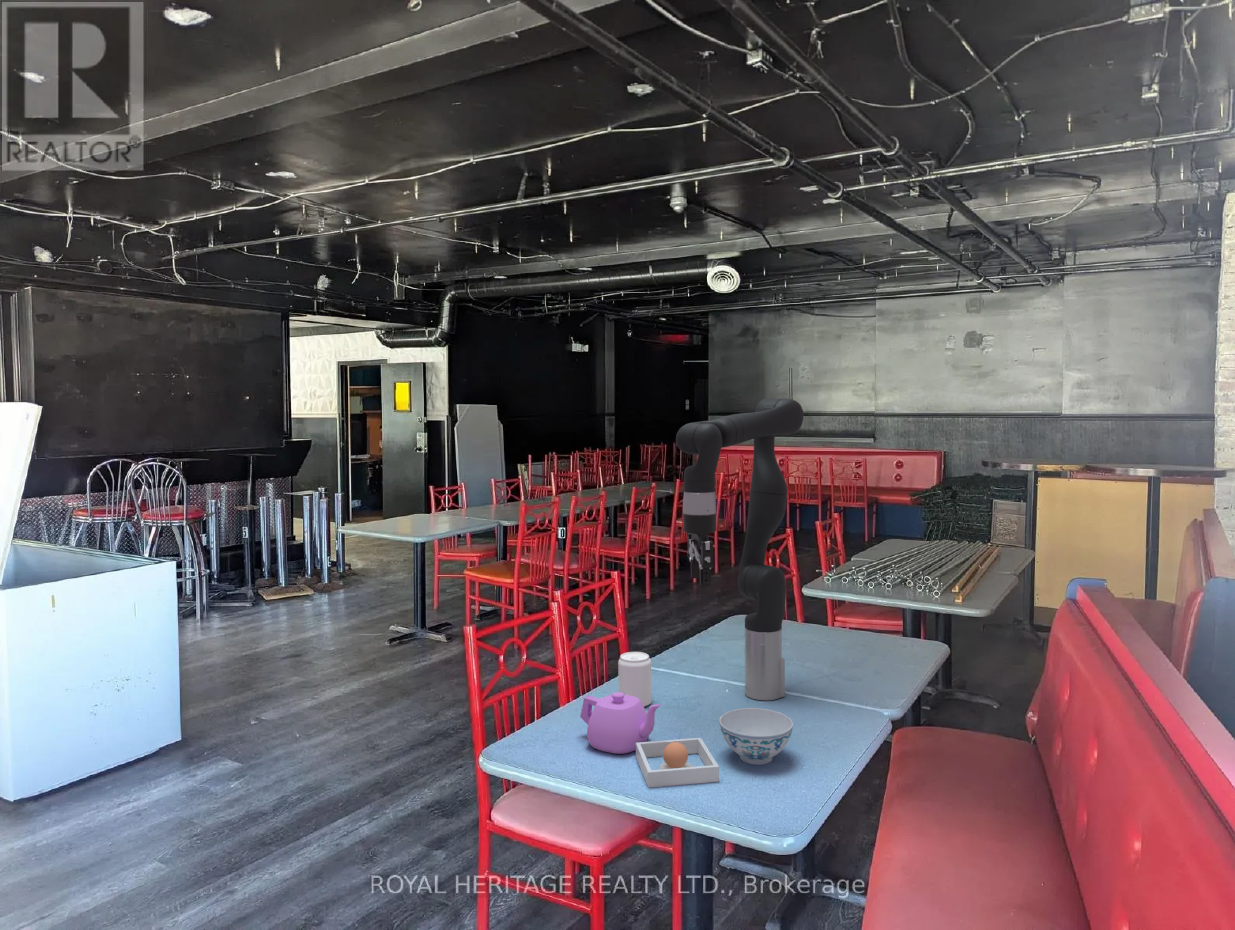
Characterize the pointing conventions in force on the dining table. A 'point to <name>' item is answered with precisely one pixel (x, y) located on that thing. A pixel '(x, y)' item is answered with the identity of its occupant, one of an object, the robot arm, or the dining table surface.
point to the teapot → (617, 722)
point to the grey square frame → (677, 774)
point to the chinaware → (756, 733)
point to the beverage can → (635, 676)
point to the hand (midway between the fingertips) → (700, 581)
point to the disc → (665, 766)
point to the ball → (675, 755)
